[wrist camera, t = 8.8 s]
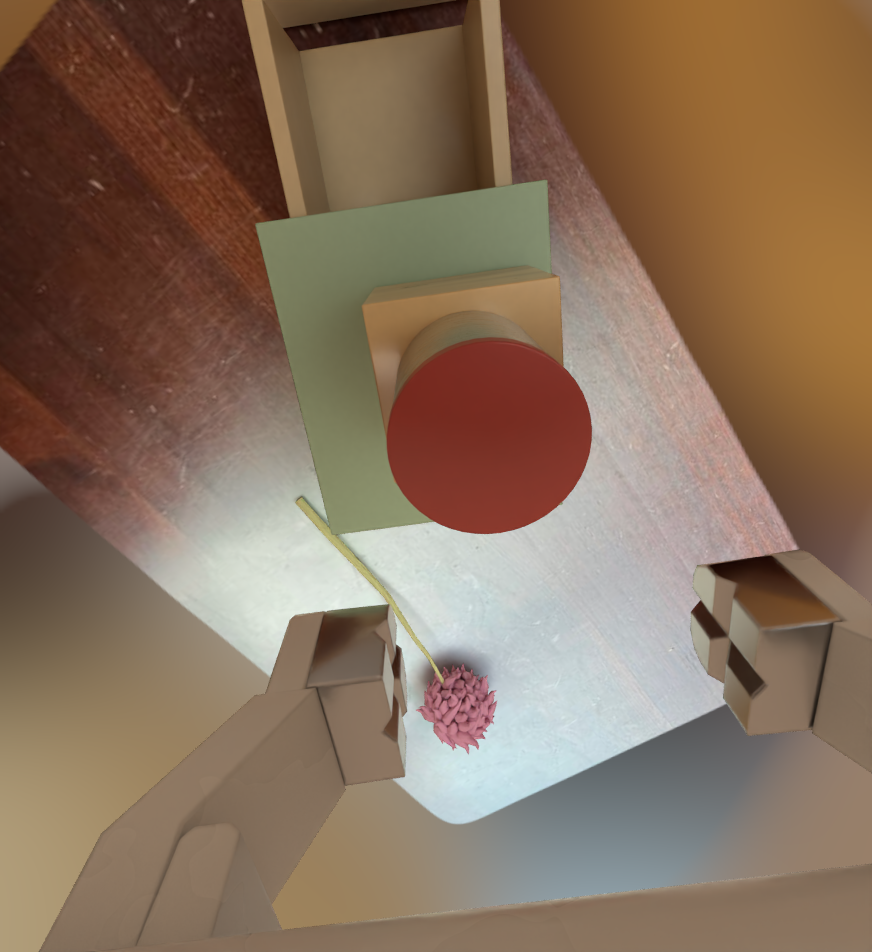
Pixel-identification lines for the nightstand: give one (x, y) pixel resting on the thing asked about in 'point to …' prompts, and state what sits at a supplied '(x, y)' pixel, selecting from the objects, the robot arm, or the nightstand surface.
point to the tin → (485, 425)
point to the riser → (422, 302)
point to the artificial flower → (452, 694)
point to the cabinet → (343, 328)
